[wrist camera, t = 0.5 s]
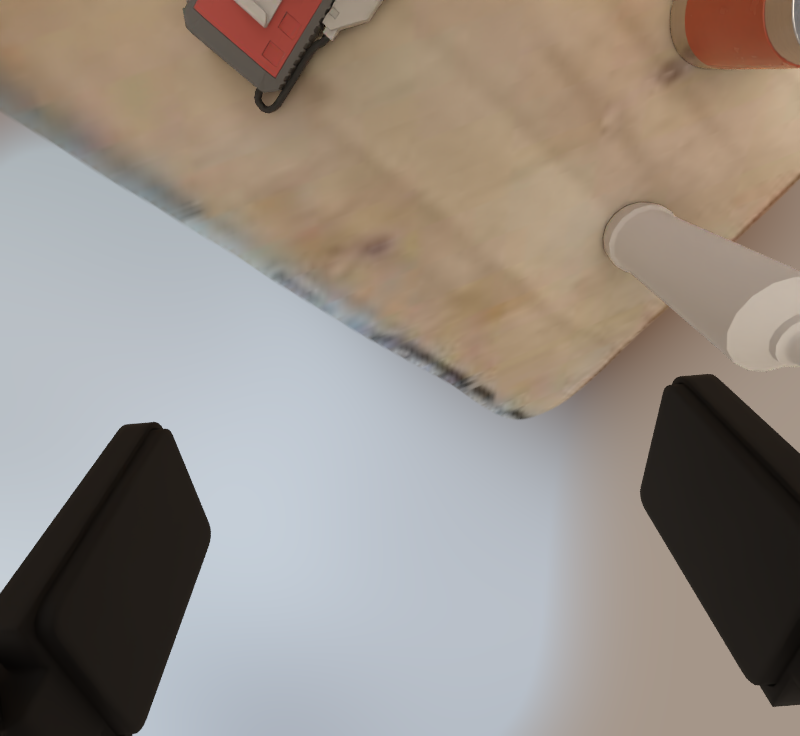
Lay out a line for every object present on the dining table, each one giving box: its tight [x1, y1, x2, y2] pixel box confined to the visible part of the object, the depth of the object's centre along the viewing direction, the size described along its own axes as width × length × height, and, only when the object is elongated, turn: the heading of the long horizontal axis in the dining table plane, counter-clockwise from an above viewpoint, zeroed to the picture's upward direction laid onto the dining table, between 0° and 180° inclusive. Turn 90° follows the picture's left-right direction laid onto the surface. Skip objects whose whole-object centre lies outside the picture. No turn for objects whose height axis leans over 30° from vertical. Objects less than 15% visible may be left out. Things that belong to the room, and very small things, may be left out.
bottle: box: [603, 202, 800, 371], centre depth 28 cm, size 5×5×25 cm
